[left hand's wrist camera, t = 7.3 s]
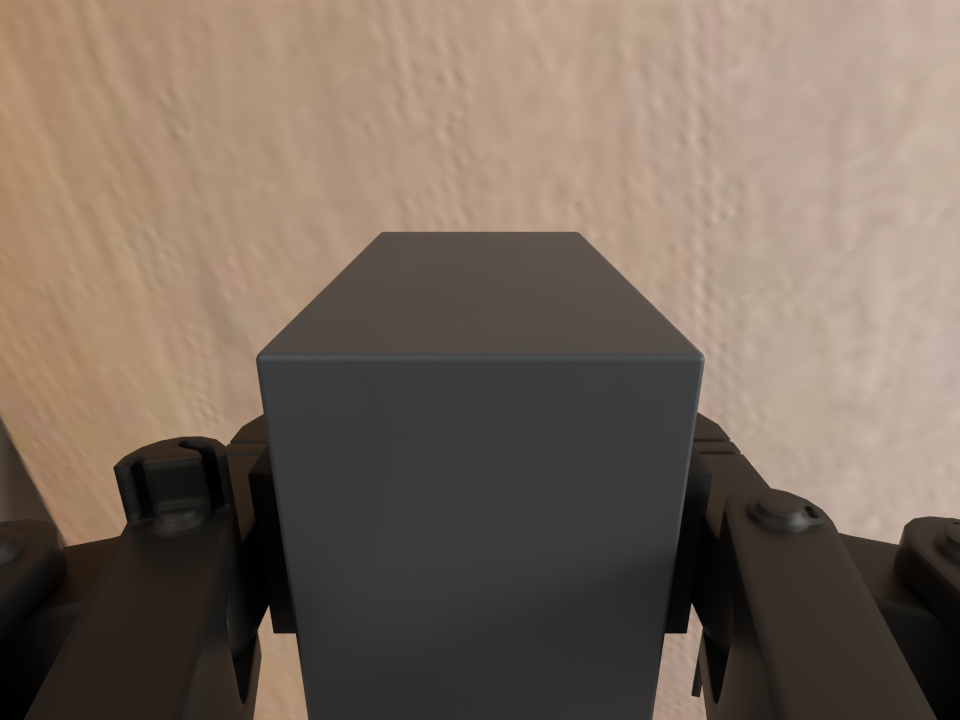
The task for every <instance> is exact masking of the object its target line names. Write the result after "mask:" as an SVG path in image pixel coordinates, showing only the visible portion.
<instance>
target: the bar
mask: <svg viewBox="0 0 960 720" xmlns="http://www.w3.org/2000/svg"><path fill="white" fill-rule="evenodd" d="M704 362H705V359H704V355H703V354H702V353H701V352H700V351H699V350H698V349H697V348H696V347H695V346H694V345H693V344H692V343H691V342H690V341H689V340H688V339H687V338H686V337H685V336H684V335H683V334H682V333H681V332H680V331H679V330H678V329H677V328H676V327H675V326H674V325H673V324H672V323H671V322H670V321H669V320H667V319H666V318H665V317H664V316H663V315H662V314H661V313H660V312H659V311H658V310H657V309H656V308H655V307H654V306H653V305H652V304H651V303H650V302H649V301H648V300H647V299H646V298H645V297H644V296H643V295H642V294H641V293H640V292H639V291H638V290H637V289H636V288H635V287H634V286H633V285H632V284H631V283H630V282H629V281H628V280H627V279H626V278H625V277H624V276H623V275H622V274H621V273H620V272H619V271H618V270H616V269H615V268H614V267H613V266H612V265H611V264H610V263H609V262H608V261H607V260H606V259H605V258H604V257H603V256H602V255H601V254H600V253H599V252H598V251H597V250H596V249H595V248H594V247H593V246H592V245H591V244H590V243H589V242H588V241H587V240H586V239H585V238H584V237H583V236H582V235H581V234H580V233H578V232H382V233H381V234H380V235H379V236H377V237H376V238H375V239H374V240H373V241H372V242H371V243H370V244H369V245H368V246H367V247H366V248H365V249H364V250H363V251H362V252H361V253H360V254H359V255H358V256H357V257H356V258H355V259H354V260H353V261H352V262H351V263H350V264H349V265H348V266H347V267H346V268H345V269H344V270H343V271H342V272H341V273H340V274H339V275H338V276H337V277H336V278H335V279H334V280H333V281H332V282H331V283H330V284H329V285H328V286H327V287H326V288H325V289H324V290H323V291H322V292H321V293H320V294H319V295H318V296H317V297H316V298H315V299H313V300H312V301H311V302H310V303H309V304H308V305H307V306H306V307H305V308H304V309H303V310H302V311H301V312H300V313H299V314H298V315H297V316H296V317H295V318H294V319H293V320H292V321H291V322H290V323H289V324H288V325H287V326H286V327H285V328H284V329H283V330H282V331H281V332H280V333H279V334H278V335H277V336H276V337H275V338H274V339H273V340H272V341H271V342H270V343H269V344H268V345H267V346H266V347H265V348H264V349H263V350H262V351H261V352H260V353H259V354H258V355H257V358H256V363H257V370H258V377H259V384H260V391H261V398H262V404H263V411H264V418H265V425H266V432H267V439H268V445H269V452H270V459H271V466H272V473H273V480H274V487H275V493H276V500H277V507H278V514H279V521H280V528H281V535H282V541H283V548H284V555H285V562H286V569H287V576H288V583H289V589H290V596H291V603H292V610H293V617H294V624H295V630H296V637H297V644H298V651H299V658H300V665H301V672H302V678H303V685H304V692H305V699H306V706H307V713H308V720H652V717H653V710H654V703H655V696H656V690H657V683H658V676H659V669H660V662H661V655H662V649H663V642H664V635H665V628H666V621H667V614H668V608H669V601H670V594H671V587H672V580H673V574H674V567H675V560H676V553H677V546H678V539H679V533H680V526H681V519H682V512H683V505H684V498H685V492H686V485H687V478H688V471H689V464H690V458H691V451H692V444H693V437H694V430H695V423H696V417H697V410H698V403H699V396H700V389H701V382H702V376H703V369H704Z"/></svg>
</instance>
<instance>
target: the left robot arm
mask: <svg viewBox="0 0 960 720" xmlns="http://www.w3.org/2000/svg"><path fill="white" fill-rule="evenodd" d="M230 442H231V443H230V444H228V445H227V446H226V447H225V446H224V445H223V444H222V443H220V442H219V441H218V440H216V439H211V438H207V437H202V436H200V437H179V438H173V439H168V440H162V441H159V442H156V443H153V444H150V445H147V446H144V447H141V448H139V449H138V450H136V451H134V452H132V453H130V454H128V455H127V456H125V457H123V458H122V459H121V460H120V461H119V462H118V463H117V464H116V465H115V466H114V467H113V468H114V472H115V476H116V480H117V484H118V487H119V491H120V495H121V499H122V503H123V507H124V511H125V515H126V519H127V524H126V526H125V528H124V530H123V532H122V534H121V536H118V537H114V538H110V539H105V540H100V541H94V542H89V543H84V544H79V545H74V546H68V547H63V548H62V544H61V541H60V538H59V535H58V531H57V529H56V528H55V527H54V526H53V525H52V524H50V523H49V522H47V521H41V520H34V519H27V520H18V521H6V522H1V523H0V720H253V717H254V710H255V702H256V695H257V687H258V680H259V672H260V665H261V657H262V656H261V648H260V641H259V636H258V628H259V626H260V623H261V621H262V619H263V617H264V615H265V612H266V610H267V608H268V606H269V607H270V613H271V619H272V626H273V632H274V633H296V630H295V624H294V617H293V610H292V603H291V596H290V589H289V583H288V576H287V569H286V562H285V555H284V548H283V541H282V535H281V528H280V521H279V514H278V507H277V500H276V493H275V487H274V480H273V473H272V466H271V459H270V452H269V445H268V439H267V432H266V425H265V418H264V414H263V415H261V416H259V417H258V418H256V419H254V420H253V421H251V422H249V423H248V424H246V425H244V426H243V427H242V428H241V429H240V430H239V431H238V433H237V434H236V435H235V436H234V438H233V439H232V440H231V441H230ZM691 604H693V606H694V608H695V611H696V613H697V615H698V617H699V619H700V622H701V624H702V626H703V630H702V636H701V641H700V647H699V653H698V658H697V664H696V670H695V675H694V681H693V688H692V695H691V696H695V697H700V693H701V687H702V686H703V693H704V701H705V708H706V716H707V720H960V520H959V519H955V518H942V517H932V516H929V517H922V518H915V519H913V520H911V521H910V522H909V523H908V524H906V525H905V527H904V530H903V533H902V536H901V540H900V543H899V545H896V544H891V543H885V542H880V541H875V540H870V539H865V538H859V537H854V536H849V535H845V534H841V533H838V531H837V529H836V527H835V525H834V523H833V522H832V520H831V519H830V518H829V517H828V516H827V515H826V513H825V512H824V511H823V510H822V509H820V508H819V507H817V506H816V505H814V504H813V503H811V502H810V501H808V500H806V499H804V498H801V497H799V496H796V495H794V494H791V493H789V492H786V491H781V490H776V489H772V488H770V487H769V486H768V484H767V483H766V482H765V481H764V480H763V478H762V477H761V476H760V475H759V473H758V472H757V471H756V470H755V469H754V467H753V466H752V465H751V464H750V463H749V461H748V460H747V459H746V458H745V456H744V455H741V454H740V450H739V449H738V448H737V447H736V446H735V444H734V443H733V442H730V438H729V437H728V436H727V435H726V433H725V432H724V431H723V430H722V428H721V427H720V426H719V425H718V424H716V423H715V422H713V421H711V420H710V419H708V418H706V417H705V416H703V415H701V414H700V413H698V412H697V417H696V423H695V430H694V437H693V444H692V451H691V458H690V464H689V471H688V478H687V485H686V492H685V498H684V505H683V512H682V519H681V526H680V533H679V539H678V546H677V553H676V560H675V567H674V574H673V580H672V587H671V594H670V601H669V608H668V614H667V621H666V628H665V633H687V628H688V622H689V616H690V610H691Z"/></svg>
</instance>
